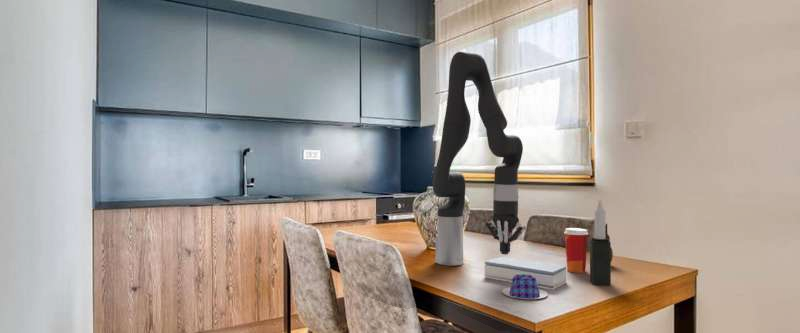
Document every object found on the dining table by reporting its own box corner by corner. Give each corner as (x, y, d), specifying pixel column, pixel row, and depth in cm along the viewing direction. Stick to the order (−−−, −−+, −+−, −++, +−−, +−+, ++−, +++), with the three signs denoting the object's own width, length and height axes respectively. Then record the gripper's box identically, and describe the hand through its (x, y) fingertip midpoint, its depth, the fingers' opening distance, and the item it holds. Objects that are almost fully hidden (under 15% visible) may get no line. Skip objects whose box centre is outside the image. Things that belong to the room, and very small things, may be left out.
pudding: (543, 289, 127) (543, 271, 127) (551, 302, 116) (551, 282, 116) (500, 288, 129) (500, 270, 129) (504, 301, 117) (504, 281, 117)
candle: (611, 285, 130) (611, 200, 130) (593, 285, 131) (592, 200, 131) (607, 281, 135) (606, 199, 135) (589, 280, 136) (588, 199, 136)
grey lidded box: (484, 277, 141) (484, 264, 141) (500, 271, 148) (500, 259, 148) (552, 289, 126) (552, 275, 126) (566, 282, 134) (566, 269, 134)
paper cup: (577, 267, 154) (577, 227, 154) (594, 272, 146) (593, 230, 146) (558, 269, 151) (558, 228, 151) (574, 274, 144) (574, 231, 144)
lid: (484, 264, 141) (484, 261, 141) (500, 259, 148) (500, 257, 148) (552, 274, 126) (552, 272, 126) (566, 269, 134) (566, 266, 134)
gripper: (480, 198, 140) (480, 252, 141) (520, 201, 131) (519, 259, 132) (492, 196, 146) (492, 249, 146) (530, 199, 137) (530, 255, 138)
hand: (505, 253), depth 139 cm, fingers closed
